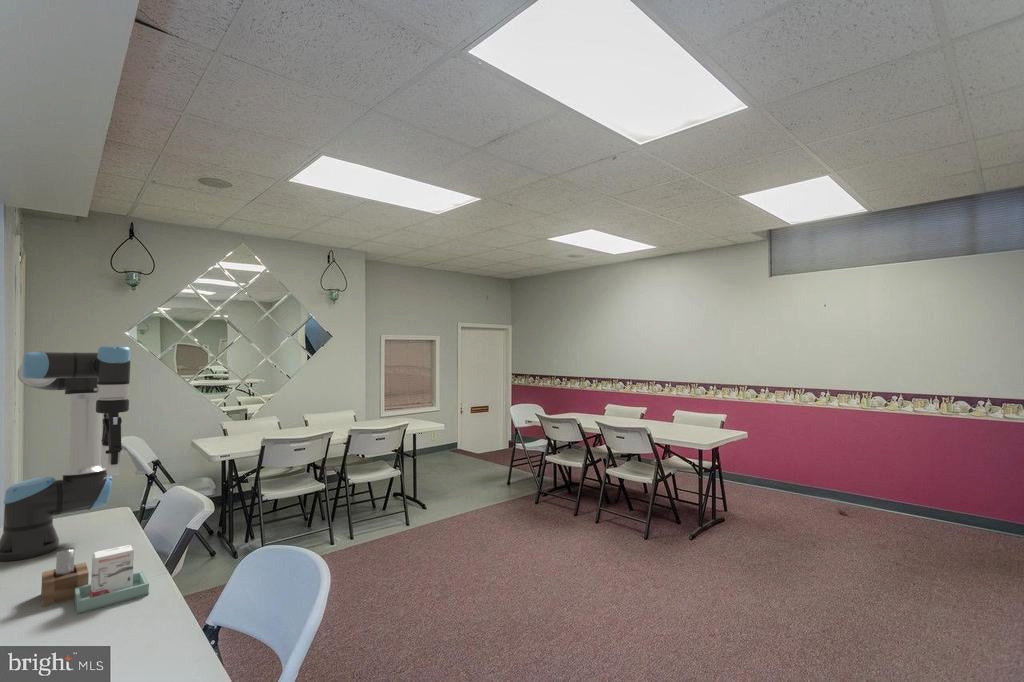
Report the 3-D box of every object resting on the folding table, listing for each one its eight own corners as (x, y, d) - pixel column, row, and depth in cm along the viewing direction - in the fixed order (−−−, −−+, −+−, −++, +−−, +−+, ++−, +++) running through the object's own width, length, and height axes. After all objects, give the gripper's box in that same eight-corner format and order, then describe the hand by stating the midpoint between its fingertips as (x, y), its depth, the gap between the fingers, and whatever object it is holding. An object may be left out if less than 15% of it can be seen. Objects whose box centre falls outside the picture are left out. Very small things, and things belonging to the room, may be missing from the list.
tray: (74, 599, 130) (74, 587, 130) (141, 581, 140) (142, 571, 140) (77, 614, 122) (77, 602, 122) (148, 594, 133) (148, 583, 133)
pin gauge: (54, 594, 132) (56, 550, 132) (72, 590, 135) (73, 546, 135) (55, 599, 130) (57, 554, 130) (73, 594, 132) (75, 550, 132)
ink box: (91, 603, 127) (93, 558, 127) (89, 596, 130) (91, 552, 130) (133, 592, 133) (134, 549, 133) (130, 586, 136) (131, 543, 137)
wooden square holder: (41, 594, 132) (42, 572, 132) (84, 583, 139) (85, 562, 139) (42, 606, 126) (43, 583, 126) (87, 594, 132) (88, 572, 132)
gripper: (91, 396, 148) (89, 466, 147) (100, 402, 130) (98, 482, 129) (123, 395, 153) (120, 462, 152) (135, 401, 135) (133, 477, 135)
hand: (110, 471), depth 141 cm, fingers open, 13 cm apart
